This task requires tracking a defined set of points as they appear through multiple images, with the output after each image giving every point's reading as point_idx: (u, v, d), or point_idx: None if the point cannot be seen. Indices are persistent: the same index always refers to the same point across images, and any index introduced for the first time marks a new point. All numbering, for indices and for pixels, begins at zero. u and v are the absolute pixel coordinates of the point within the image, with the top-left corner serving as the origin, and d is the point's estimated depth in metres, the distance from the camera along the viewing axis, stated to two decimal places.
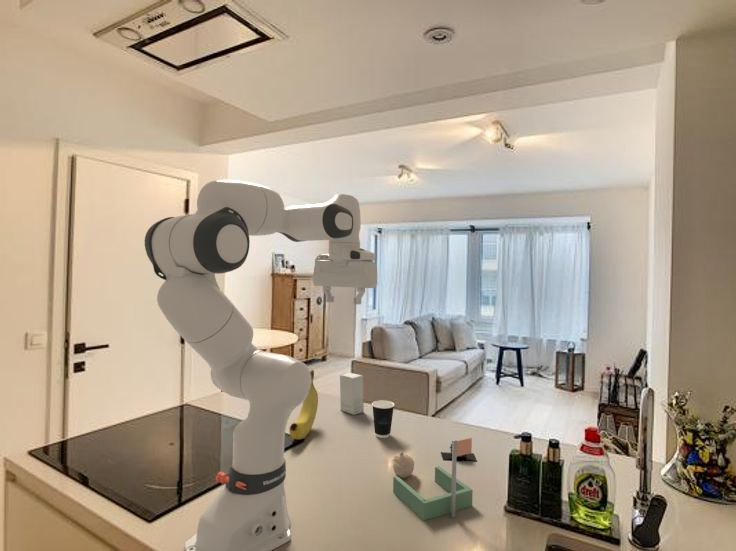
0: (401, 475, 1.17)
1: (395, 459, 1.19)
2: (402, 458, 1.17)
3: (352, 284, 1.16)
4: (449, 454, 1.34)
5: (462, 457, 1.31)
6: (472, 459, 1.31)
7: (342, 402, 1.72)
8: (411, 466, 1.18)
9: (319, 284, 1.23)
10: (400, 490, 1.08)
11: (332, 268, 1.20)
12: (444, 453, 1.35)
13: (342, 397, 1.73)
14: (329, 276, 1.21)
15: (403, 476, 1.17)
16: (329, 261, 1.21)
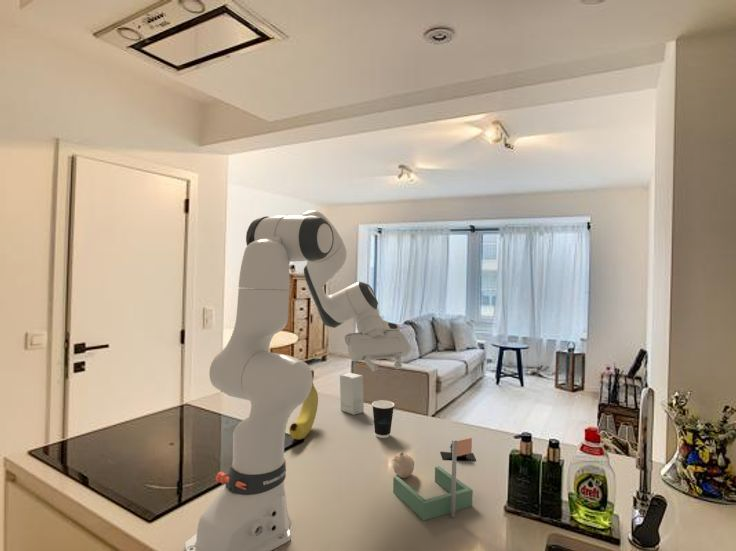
0: (401, 475, 1.17)
1: (395, 459, 1.19)
2: (402, 458, 1.17)
3: (395, 349, 1.33)
4: (449, 454, 1.34)
5: (462, 457, 1.32)
6: (472, 459, 1.31)
7: (342, 402, 1.72)
8: (411, 466, 1.18)
9: (362, 353, 1.27)
10: (400, 490, 1.08)
11: (370, 340, 1.32)
12: (444, 453, 1.35)
13: (342, 397, 1.73)
14: (370, 345, 1.30)
15: (403, 476, 1.17)
16: (365, 334, 1.33)
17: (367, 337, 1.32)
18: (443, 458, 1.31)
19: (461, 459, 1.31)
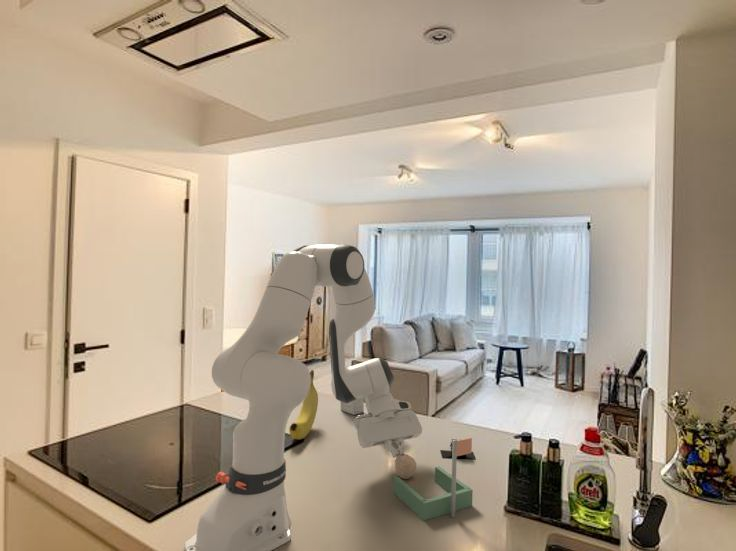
0: (402, 476, 1.17)
1: (397, 460, 1.19)
2: (403, 459, 1.17)
3: (406, 432, 1.27)
4: (449, 452, 1.35)
5: (462, 455, 1.33)
6: (472, 457, 1.32)
7: (342, 402, 1.72)
8: (412, 467, 1.17)
9: (372, 440, 1.21)
10: (400, 490, 1.08)
11: (380, 423, 1.26)
12: (444, 451, 1.36)
13: None
14: (381, 430, 1.24)
15: (404, 477, 1.17)
16: (375, 417, 1.27)
17: (377, 420, 1.26)
18: (443, 456, 1.33)
19: (461, 457, 1.32)
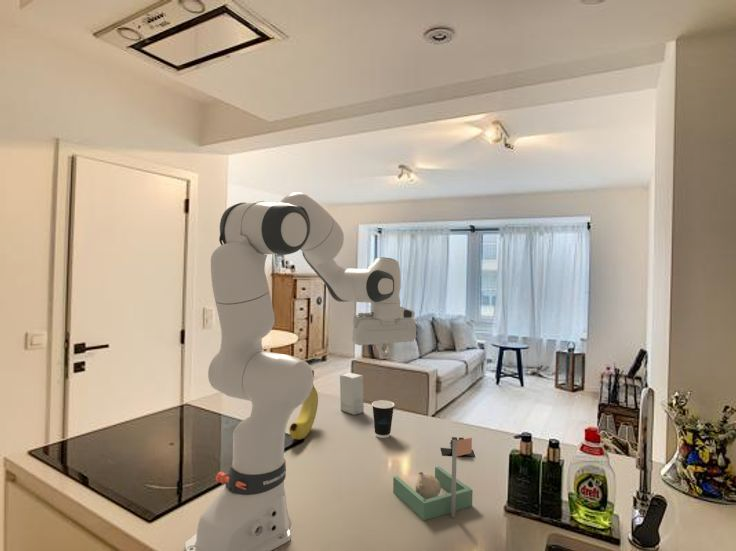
0: None
1: (418, 478, 1.09)
2: (421, 478, 1.06)
3: (399, 339, 1.29)
4: (449, 450, 1.37)
5: None
6: (471, 455, 1.34)
7: (342, 402, 1.72)
8: (431, 490, 1.05)
9: (365, 343, 1.24)
10: (400, 490, 1.08)
11: (378, 326, 1.26)
12: (444, 449, 1.38)
13: (342, 397, 1.73)
14: (376, 334, 1.25)
15: None
16: (376, 320, 1.25)
17: (377, 323, 1.25)
18: (443, 454, 1.34)
19: None
